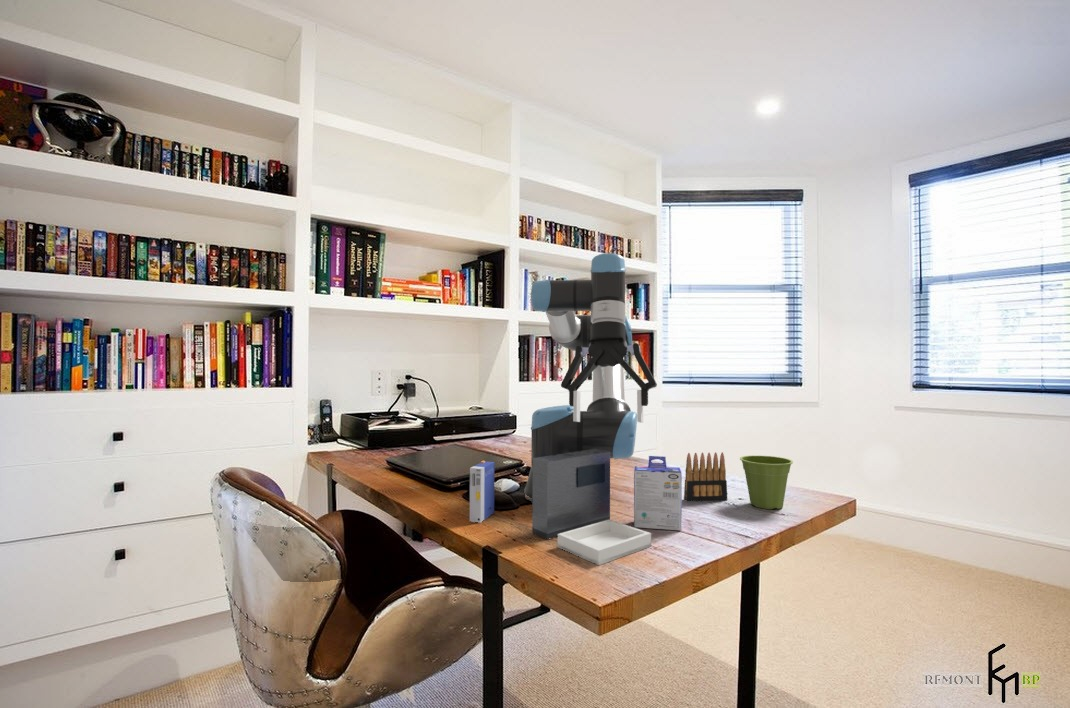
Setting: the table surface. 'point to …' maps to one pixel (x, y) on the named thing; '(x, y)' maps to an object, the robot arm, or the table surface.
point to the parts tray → (604, 541)
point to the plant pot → (766, 480)
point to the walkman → (481, 491)
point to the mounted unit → (570, 491)
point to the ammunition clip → (705, 479)
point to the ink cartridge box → (657, 496)
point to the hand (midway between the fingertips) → (607, 422)
